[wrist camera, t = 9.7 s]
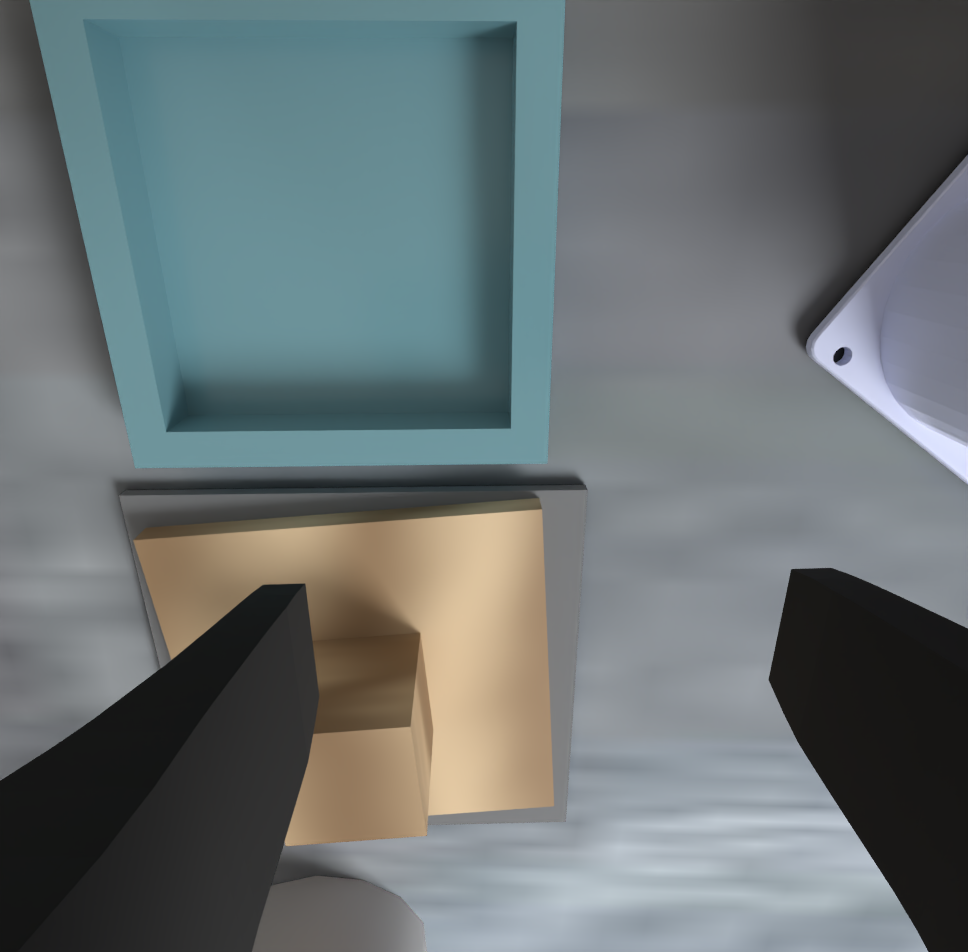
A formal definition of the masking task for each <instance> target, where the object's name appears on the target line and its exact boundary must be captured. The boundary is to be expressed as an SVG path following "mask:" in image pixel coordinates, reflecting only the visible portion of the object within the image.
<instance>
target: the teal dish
mask: <svg viewBox="0 0 968 952" xmlns="http://www.w3.org/2000/svg"><path fill="white" fill-rule="evenodd" d="M29 1H30V5H31V10H32V14H33V18H34V23H35V27H36V32H37V36H38V41H39V45H40V49H41V54H42V58H43V63H44V67H45V72H46V76H47V80H48V85H49V89H50V94H51V98H52V102H53V107H54V111H55V116H56V120H57V125H58V129H59V133H60V138H61V142H62V147H63V151H64V155H65V160H66V164H67V169H68V173H69V178H70V182H71V186H72V191H73V195H74V200H75V204H76V209H77V213H78V217H79V222H80V226H81V231H82V235H83V239H84V244H85V248H86V253H87V257H88V262H89V266H90V270H91V275H92V279H93V284H94V288H95V293H96V297H97V301H98V306H99V310H100V315H101V319H102V323H103V328H104V332H105V337H106V341H107V346H108V350H109V354H110V359H111V363H112V368H113V372H114V376H115V381H116V385H117V390H118V394H119V399H120V403H121V407H122V412H123V416H124V421H125V425H126V430H127V434H128V438H129V443H130V447H131V452H132V456H133V460H134V465H135V468H193V467H282V466H370V465H459V464H547V460H548V434H549V408H550V383H551V357H552V331H553V305H554V279H555V253H556V227H557V201H558V175H559V149H560V123H561V98H562V72H563V46H564V20H565V0H29Z"/></svg>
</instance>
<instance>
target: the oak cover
mask: <svg viewBox="0 0 968 952" xmlns="http://www.w3.org/2000/svg"><path fill="white" fill-rule="evenodd" d="M133 541H134V544H135V547H136V551H137V554H138V557H139V560H140V563H141V566H142V569H143V573H144V576H145V579H146V582H147V585H148V588H149V591H150V595H151V598H152V601H153V604H154V607H155V610H156V613H157V616H158V620H159V623H160V626H161V629H162V632H163V635H164V638H165V642H166V645H167V648H168V651H169V654H170V657H171V660H172V659H173V658H174V657H176V656H177V655H178V654H179V653H181V652H182V651H183V650H184V649H185V648H187V647H188V646H189V645H190V644H191V643H193V642H194V641H195V640H196V639H197V638H199V637H200V636H201V635H202V634H204V633H205V632H206V631H207V630H208V629H210V628H211V627H212V626H213V625H214V624H215V623H217V622H218V621H219V620H220V619H221V618H223V617H224V616H225V615H226V614H227V613H228V612H230V611H231V610H232V609H233V608H234V607H236V606H237V605H238V604H239V603H240V602H241V601H243V600H244V599H245V598H246V597H248V596H249V595H250V594H251V593H252V592H254V591H255V590H256V589H258V588H259V587H260V586H262V585H268V584H302V583H305V584H306V593H307V601H308V609H309V617H310V625H311V633H312V641H313V649H314V657H315V665H316V673H317V681H318V689H319V702H318V708H317V715H316V721H315V727H314V733H313V738H312V744H311V749H310V755H309V760H308V764H307V768H306V771H305V775H304V778H303V782H302V785H301V788H300V792H299V795H298V798H297V802H296V805H295V808H294V812H293V815H292V818H291V822H290V825H289V828H288V832H287V835H286V838H285V844H286V846H295V845H308V844H322V843H335V842H349V841H362V840H376V839H389V838H403V837H416V836H427V825H428V816H430V815H443V814H457V813H470V812H484V811H497V810H511V809H524V808H538V807H551V806H554V789H553V765H552V740H551V716H550V691H549V666H548V642H547V617H546V593H545V568H544V544H543V519H542V507H541V503H540V499H539V498H532V499H519V500H506V501H493V502H479V503H466V504H453V505H440V506H427V507H414V508H400V509H387V510H374V511H361V512H348V513H334V514H321V515H308V516H295V517H282V518H268V519H255V520H242V521H229V522H216V523H203V524H189V525H176V526H163V527H150V528H145V529H144V530H143V531H142V532H141V533H140V534H139V535H138V536H137V537H136V538H135V539H134V540H133Z"/></svg>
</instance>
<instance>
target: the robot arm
mask: <svg viewBox="0 0 968 952" xmlns="http://www.w3.org/2000/svg"><path fill="white" fill-rule="evenodd" d="M841 347H843V348H844V349H845V350H844V356H843V357H842V359H841V360H839V361H838V362H834V361H833V355H834V354H835V352H836V351H837V350H838V349H839V348H841ZM806 350H807V354H808V355H809V356H810V358H811V359H813V360H814V361H815V362H816V363H818V364H819V365H820V366H821V367H822V368H824V369H825V370H826V371H827V372H829V373H830V374H831V375H832V376H834V377H835V378H836V379H837V380H839V381H840V382H841V383H842V384H844V385H845V386H846V387H847V388H848V389H850V390H851V391H852V392H853V393H855V394H856V395H857V396H858V397H860V398H861V399H862V400H863V401H865V402H866V403H867V404H868V405H870V406H871V407H872V408H873V409H875V410H876V411H877V412H878V413H879V414H881V415H882V416H883V417H884V418H886V419H887V420H888V421H889V422H891V423H892V424H893V425H894V426H896V427H897V428H898V429H899V430H901V431H902V432H903V433H904V434H906V435H907V436H908V437H909V438H910V439H912V440H913V441H914V442H915V443H917V444H918V445H919V446H920V447H922V448H923V449H924V450H925V451H927V452H928V453H929V454H930V455H932V456H933V457H934V458H935V459H936V460H938V461H939V462H940V463H941V464H943V465H944V466H945V467H946V468H948V469H949V470H950V471H951V472H953V473H954V474H955V475H956V476H958V477H959V478H960V479H961V480H963V481H964V482H965V483H966V484H967V485H968V155H967V156H966V157H965V158H964V160H963V161H962V162H961V163H960V164H959V165H958V166H957V168H956V169H955V170H954V171H953V172H952V173H951V174H950V176H949V177H948V178H947V179H946V180H945V181H944V182H943V184H942V185H941V186H940V187H939V188H938V189H937V190H936V192H935V193H934V194H933V195H932V196H931V197H930V198H929V200H928V201H927V202H926V203H925V204H924V205H923V206H922V208H921V209H920V210H919V211H918V212H917V213H916V214H915V216H914V217H913V218H912V219H911V220H910V221H909V222H908V224H907V225H906V226H905V227H904V228H903V229H902V230H901V232H900V233H899V234H898V235H897V236H896V237H895V238H894V240H893V241H892V242H891V243H890V244H889V245H888V246H887V248H886V249H885V250H884V251H883V252H882V253H881V254H880V256H879V257H878V258H877V259H876V260H875V261H874V262H873V264H872V265H871V266H870V267H869V268H868V269H867V270H866V272H865V273H864V274H863V275H862V276H861V277H860V278H859V280H858V281H857V282H856V283H855V284H854V285H853V286H852V288H851V289H850V290H849V291H848V292H847V293H846V294H845V296H844V297H843V298H842V299H841V300H840V301H839V303H838V304H837V305H836V306H835V307H834V308H833V309H832V311H831V312H830V313H829V314H828V315H827V316H826V317H825V319H824V320H823V321H822V322H821V323H820V324H819V325H818V327H817V328H816V329H815V330H814V331H813V332H812V333H811V335H810V337H809V338H808V340H807V344H806ZM769 682H770V684H771V686H772V688H773V690H774V693H775V695H776V697H777V699H778V702H779V704H780V706H781V708H782V711H783V713H784V715H785V717H786V719H787V721H788V723H789V725H790V727H791V729H792V731H793V733H794V735H795V737H796V739H797V741H798V743H799V745H800V746H801V748H802V749H803V751H804V753H805V754H806V756H807V758H808V759H809V761H810V762H811V764H812V765H813V767H814V769H815V770H816V772H817V773H818V775H819V777H820V778H821V780H822V781H823V783H824V784H825V786H826V788H827V789H828V791H829V792H830V794H831V795H832V797H833V798H834V800H835V802H836V803H837V805H838V806H839V808H840V809H841V811H842V812H843V814H844V815H845V817H846V818H847V820H848V822H849V823H850V825H851V826H852V828H853V829H854V831H855V832H856V834H857V835H858V837H859V839H860V840H861V842H862V843H863V845H864V846H865V848H866V849H867V851H868V852H869V854H870V855H871V857H872V859H873V860H874V862H875V863H876V865H877V866H878V868H879V869H880V871H881V872H882V874H883V876H884V877H885V879H886V880H887V882H888V883H889V885H890V886H891V888H892V889H893V891H894V893H895V894H896V896H897V898H898V899H899V901H900V903H901V904H902V906H903V908H904V909H905V911H906V913H907V914H908V916H909V918H910V919H911V921H912V923H913V924H914V926H915V928H916V929H917V931H918V933H919V935H920V937H921V939H922V940H923V942H924V944H925V946H926V948H927V950H928V952H968V628H965V627H963V626H961V625H959V624H957V623H955V622H953V621H951V620H948V619H946V618H944V617H942V616H940V615H938V614H936V613H934V612H931V611H929V610H927V609H925V608H923V607H921V606H919V605H917V604H914V603H912V602H910V601H908V600H906V599H904V598H902V597H900V596H897V595H895V594H893V593H891V592H889V591H887V590H884V589H882V588H880V587H878V586H875V585H873V584H871V583H869V582H866V581H864V580H862V579H859V578H857V577H854V576H852V575H849V574H847V573H844V572H841V571H838V570H836V569H833V568H814V569H791V573H790V578H789V583H788V588H787V593H786V598H785V603H784V608H783V612H782V617H781V622H780V627H779V632H778V637H777V642H776V647H775V651H774V656H773V661H772V666H771V671H770V676H769ZM318 702H319V689H318V681H317V673H316V665H315V657H314V649H313V641H312V633H311V625H310V617H309V609H308V601H307V593H306V584H305V583H302V584H268V585H262V586H260V587H259V588H258V589H256V590H255V591H254V592H252V593H251V594H250V595H249V596H248V597H246V598H245V599H244V600H243V601H241V602H240V603H239V604H238V605H237V606H236V607H234V608H233V609H232V610H231V611H230V612H228V613H227V614H226V615H225V616H224V617H223V618H221V619H220V620H219V621H218V622H217V623H215V624H214V625H213V626H212V627H211V628H210V629H208V630H207V631H206V632H205V633H204V634H202V635H201V636H200V637H199V638H197V639H196V640H195V641H194V642H193V643H191V644H190V645H189V646H188V647H187V648H185V649H184V650H183V651H182V652H181V653H179V654H178V655H177V656H176V657H174V658H173V659H172V660H171V661H170V662H168V663H167V664H166V665H165V666H163V667H162V668H161V669H160V670H158V671H157V672H156V673H154V674H153V675H152V676H150V677H149V678H148V679H146V680H145V681H144V682H142V683H141V684H140V685H138V686H137V687H136V688H134V689H133V690H132V691H130V692H129V693H128V694H126V695H125V696H124V697H122V698H121V699H120V700H118V701H117V702H116V703H114V704H113V705H112V706H110V707H109V708H108V709H106V710H105V711H104V712H102V713H101V714H100V715H98V716H97V717H96V718H94V719H93V720H92V721H90V722H89V723H87V724H86V725H84V726H83V727H82V728H80V729H79V730H77V731H76V732H74V733H73V734H72V735H70V736H69V737H67V738H66V739H64V740H63V741H61V742H60V743H58V744H57V745H55V746H54V747H52V748H51V749H49V750H48V751H46V752H45V753H43V754H41V755H40V756H38V757H37V758H35V759H34V760H32V761H31V762H29V763H27V764H26V765H24V766H23V767H21V768H20V769H18V770H16V771H15V772H13V773H12V774H10V775H9V776H7V777H6V778H4V779H2V780H1V781H0V952H252V950H253V946H254V942H255V938H256V935H257V931H258V927H259V924H260V920H261V917H262V914H263V910H264V907H265V904H266V901H267V897H268V894H269V891H270V887H271V884H272V881H273V878H274V874H275V871H276V868H277V864H278V861H279V858H280V855H281V851H282V848H283V845H284V841H285V838H286V835H287V832H288V828H289V825H290V822H291V818H292V815H293V812H294V808H295V805H296V802H297V798H298V795H299V792H300V788H301V785H302V782H303V778H304V775H305V771H306V768H307V764H308V760H309V755H310V749H311V744H312V738H313V733H314V727H315V721H316V715H317V708H318Z"/></svg>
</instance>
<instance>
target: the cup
mask: <svg viewBox="0 0 968 952" xmlns="http://www.w3.org/2000/svg"><path fill="white" fill-rule="evenodd" d="M252 952H427V948H426V940H425V931H424V923H423V922H422V920H421V919H420V918H419V917H418V916H417V915H416V914H415V913H414V911H413V910H412V909H411V908H410V907H409V906H408V905H407V904H406V902H405V901H404V900H403V899H402V898H401V897H399V896H397V895H395V894H392V893H390V892H388V891H386V890H384V889H381V888H379V887H377V886H375V885H372V884H370V883H368V882H366V881H363V880H356V879H346V878H336V877H326V876H312V877H308V878H303V879H298V880H294V881H289V882H285V883H280V884H275V885H273V886H271V887H270V891H269V894H268V897H267V901H266V904H265V907H264V910H263V914H262V917H261V920H260V924H259V927H258V931H257V935H256V938H255V942H254V946H253V950H252Z"/></svg>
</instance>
